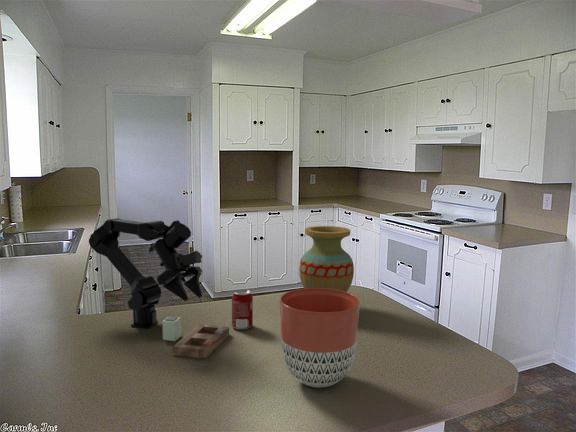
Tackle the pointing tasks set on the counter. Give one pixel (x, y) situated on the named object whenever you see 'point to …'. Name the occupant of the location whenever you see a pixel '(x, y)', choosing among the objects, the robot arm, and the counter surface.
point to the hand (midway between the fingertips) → (194, 298)
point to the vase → (326, 260)
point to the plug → (171, 328)
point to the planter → (319, 334)
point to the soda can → (242, 309)
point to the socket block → (201, 341)
